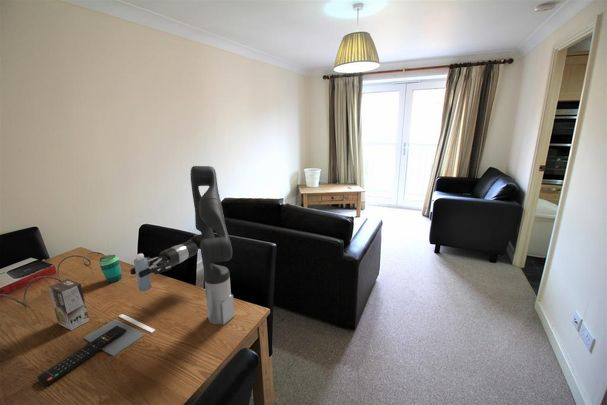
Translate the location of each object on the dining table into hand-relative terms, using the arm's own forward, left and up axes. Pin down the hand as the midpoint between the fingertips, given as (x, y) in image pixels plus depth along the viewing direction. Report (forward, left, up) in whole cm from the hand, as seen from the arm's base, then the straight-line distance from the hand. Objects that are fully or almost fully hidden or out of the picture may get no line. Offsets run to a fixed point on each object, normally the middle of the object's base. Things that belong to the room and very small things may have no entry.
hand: (135, 273), depth 104 cm
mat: (0, +11, -20) cm, 23 cm away
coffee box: (+22, +13, -20) cm, 33 cm away
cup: (+41, -12, -20) cm, 47 cm away
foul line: (0, +3, -20) cm, 20 cm away
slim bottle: (0, -3, -8) cm, 8 cm away
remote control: (-1, +20, -20) cm, 28 cm away
